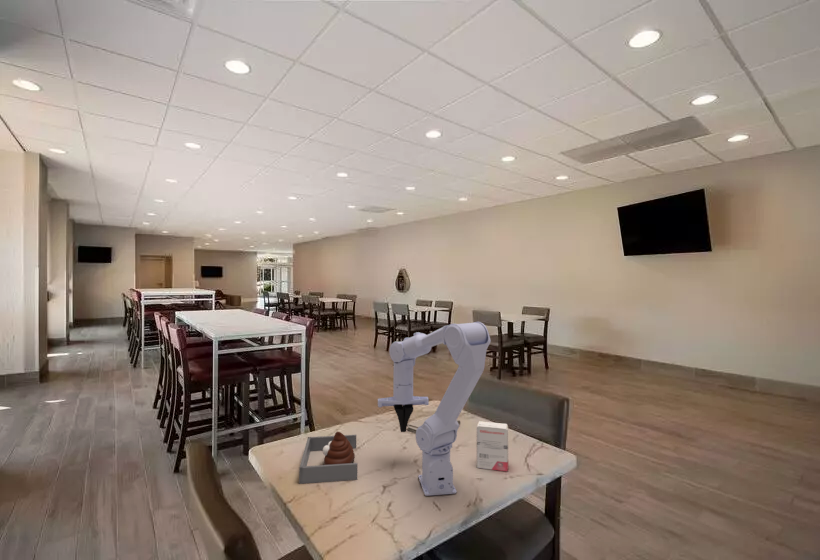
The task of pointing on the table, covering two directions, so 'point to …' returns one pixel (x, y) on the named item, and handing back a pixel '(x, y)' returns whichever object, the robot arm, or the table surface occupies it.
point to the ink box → (492, 446)
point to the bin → (325, 471)
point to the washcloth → (419, 424)
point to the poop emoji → (338, 451)
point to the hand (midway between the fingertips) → (403, 430)
